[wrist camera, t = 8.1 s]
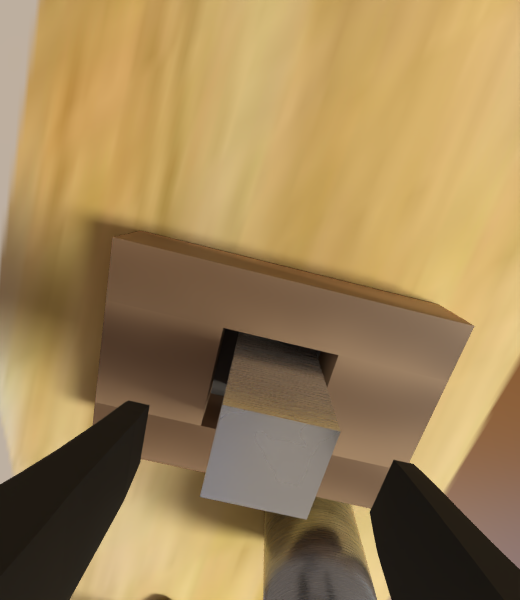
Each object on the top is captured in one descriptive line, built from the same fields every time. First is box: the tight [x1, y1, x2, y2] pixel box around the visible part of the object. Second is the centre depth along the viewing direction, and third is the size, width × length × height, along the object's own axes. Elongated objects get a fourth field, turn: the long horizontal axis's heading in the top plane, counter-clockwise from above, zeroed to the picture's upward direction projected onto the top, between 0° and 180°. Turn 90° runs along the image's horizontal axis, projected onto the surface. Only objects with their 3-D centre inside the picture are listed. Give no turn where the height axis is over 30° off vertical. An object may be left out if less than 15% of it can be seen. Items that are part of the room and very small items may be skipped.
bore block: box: [93, 231, 474, 508], centre depth 14 cm, size 9×13×2 cm
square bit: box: [200, 332, 341, 520], centre depth 12 cm, size 3×3×6 cm
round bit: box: [263, 497, 377, 600], centre depth 15 cm, size 5×5×6 cm
